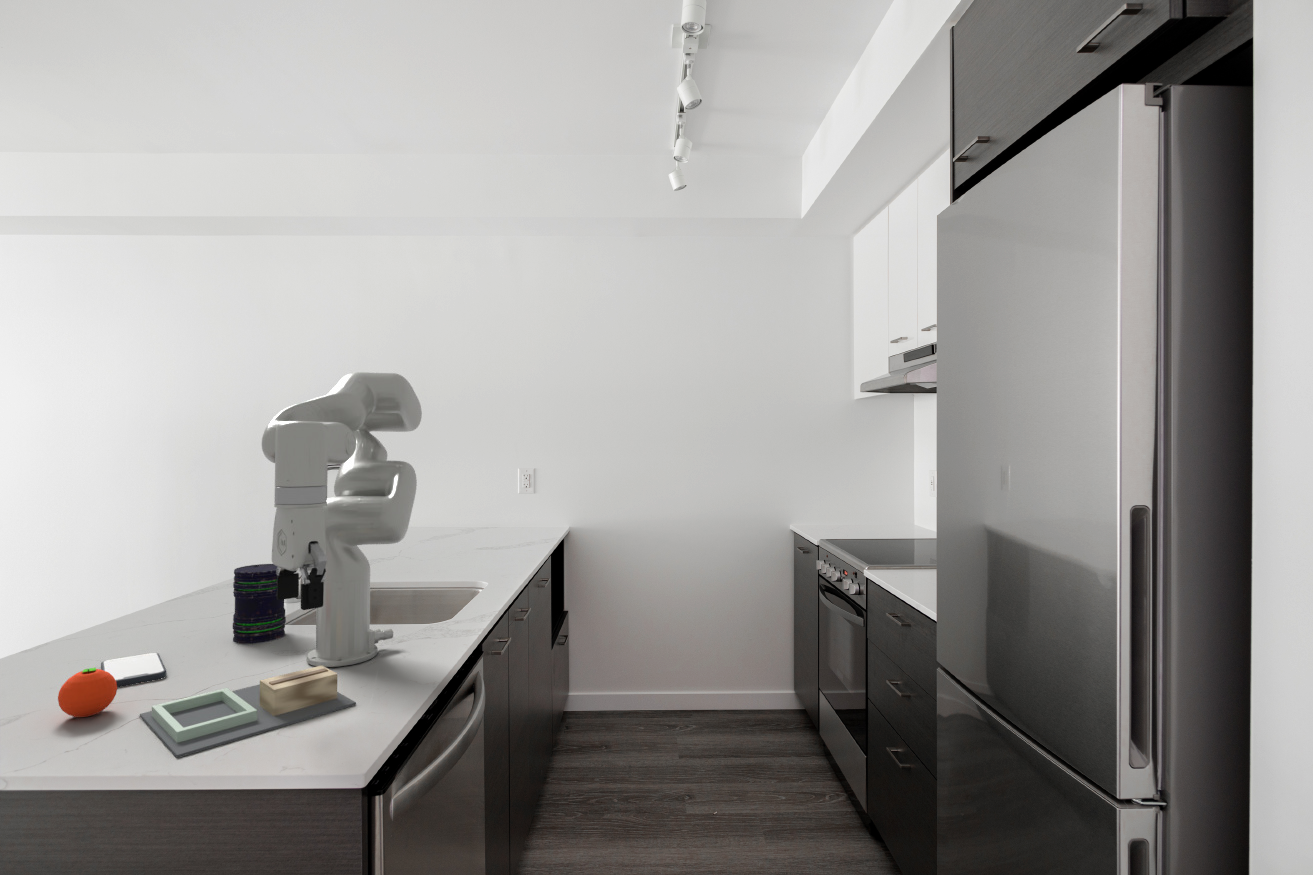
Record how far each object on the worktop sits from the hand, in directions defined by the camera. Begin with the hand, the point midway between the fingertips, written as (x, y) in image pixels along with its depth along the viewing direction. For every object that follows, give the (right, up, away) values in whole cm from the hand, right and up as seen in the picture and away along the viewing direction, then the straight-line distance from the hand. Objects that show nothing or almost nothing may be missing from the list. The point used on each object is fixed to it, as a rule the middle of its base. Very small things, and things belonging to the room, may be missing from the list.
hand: (299, 603), depth 106 cm
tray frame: (-11, -16, -7) cm, 21 cm away
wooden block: (0, -16, 0) cm, 16 cm away
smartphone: (-38, -17, +14) cm, 44 cm away
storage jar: (-28, -17, +36) cm, 48 cm away
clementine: (-30, -16, -5) cm, 35 cm away
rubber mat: (-6, -16, -3) cm, 18 cm away
